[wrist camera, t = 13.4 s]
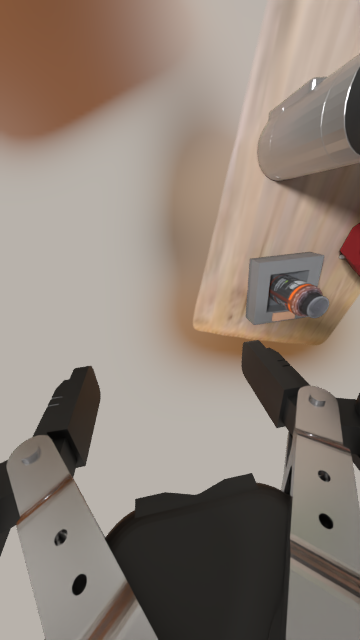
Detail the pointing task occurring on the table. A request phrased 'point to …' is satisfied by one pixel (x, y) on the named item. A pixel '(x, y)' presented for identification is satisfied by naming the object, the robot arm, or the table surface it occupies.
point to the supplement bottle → (298, 296)
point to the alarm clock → (352, 249)
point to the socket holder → (266, 270)
